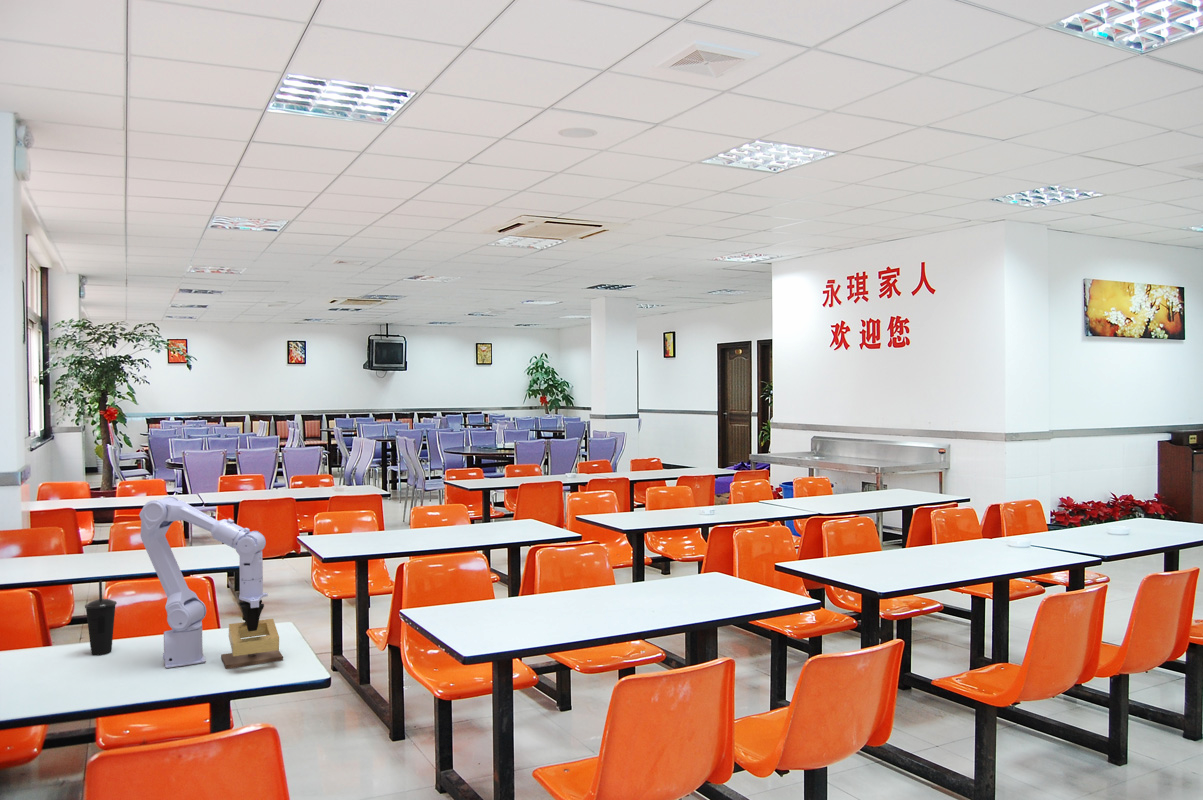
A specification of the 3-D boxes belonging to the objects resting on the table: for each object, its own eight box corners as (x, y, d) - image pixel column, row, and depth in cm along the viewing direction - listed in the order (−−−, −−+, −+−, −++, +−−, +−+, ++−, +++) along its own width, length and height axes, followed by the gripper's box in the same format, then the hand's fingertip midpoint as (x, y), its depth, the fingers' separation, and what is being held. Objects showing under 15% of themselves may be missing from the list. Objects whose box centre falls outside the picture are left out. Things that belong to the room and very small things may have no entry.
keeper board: (225, 669, 224) (225, 647, 224) (221, 658, 233) (220, 637, 233) (283, 660, 230) (282, 639, 230) (276, 650, 240) (275, 629, 240)
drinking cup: (123, 649, 242) (122, 578, 242) (101, 657, 235) (100, 584, 235) (101, 648, 244) (100, 577, 244) (78, 656, 237) (77, 583, 237)
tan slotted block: (233, 656, 220) (233, 643, 219) (228, 636, 229) (228, 624, 228) (278, 649, 225) (279, 637, 224) (272, 630, 234) (273, 618, 234)
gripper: (271, 581, 226) (271, 633, 226) (263, 572, 239) (264, 621, 239) (242, 584, 222) (242, 637, 223) (235, 574, 235) (236, 624, 235)
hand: (251, 629), depth 230 cm, fingers closed on tan slotted block, 2 cm apart
